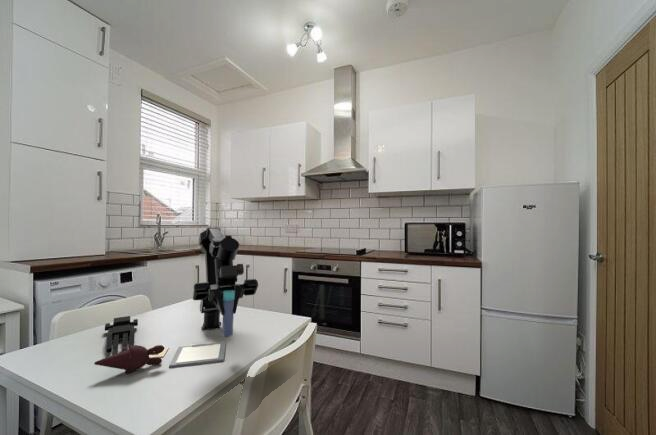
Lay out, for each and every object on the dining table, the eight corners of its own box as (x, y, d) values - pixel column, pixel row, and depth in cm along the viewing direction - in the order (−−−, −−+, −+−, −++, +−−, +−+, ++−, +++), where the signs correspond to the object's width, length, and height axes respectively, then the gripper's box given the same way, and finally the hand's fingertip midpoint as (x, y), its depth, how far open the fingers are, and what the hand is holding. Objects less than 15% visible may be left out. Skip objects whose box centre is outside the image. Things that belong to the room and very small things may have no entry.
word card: (154, 349, 84) (154, 348, 84) (168, 348, 86) (168, 347, 86) (147, 358, 79) (147, 357, 79) (163, 357, 80) (163, 355, 80)
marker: (222, 333, 82) (224, 289, 82) (233, 332, 83) (235, 289, 83) (220, 337, 79) (222, 292, 79) (232, 336, 80) (234, 292, 80)
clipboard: (178, 348, 86) (178, 344, 86) (225, 344, 90) (225, 340, 90) (168, 367, 74) (169, 362, 74) (223, 361, 79) (223, 356, 79)
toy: (139, 362, 79) (137, 326, 103) (140, 346, 79) (137, 314, 103) (97, 372, 73) (105, 332, 97) (98, 354, 73) (105, 318, 97)
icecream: (92, 360, 65) (165, 352, 73) (99, 341, 71) (165, 335, 79) (89, 386, 65) (161, 375, 74) (95, 365, 72) (161, 357, 80)
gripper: (195, 255, 80) (196, 303, 70) (257, 254, 90) (266, 295, 80) (192, 277, 87) (192, 323, 77) (251, 274, 96) (258, 315, 86)
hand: (228, 313), depth 80 cm, fingers closed on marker, 3 cm apart
